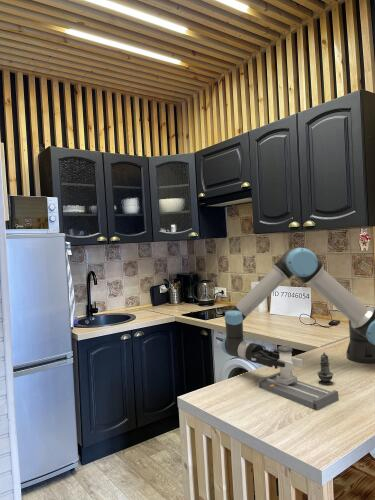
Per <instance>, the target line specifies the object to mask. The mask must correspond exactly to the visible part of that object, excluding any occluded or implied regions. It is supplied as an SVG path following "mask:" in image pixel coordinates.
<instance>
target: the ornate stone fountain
mask: <svg viewBox="0 0 375 500" xmlns="http://www.w3.org/2000/svg"><path fill="white" fill-rule="evenodd" d="M319 365H320V371H317V376H318V378H319V381H318V384H319V385H322V386H327V387H328V386H333V384H334V382H333V381H332V379H333V376H334V373H333V372H331V371H330V361H329V356H328V354H327V353H326V352H325V351H324V352H323V353H322V354H321V355H320V362H319Z"/></svg>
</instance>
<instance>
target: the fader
mask: <svg viewBox="0 0 375 500" xmlns="http://www.w3.org/2000/svg"><path fill="white" fill-rule="evenodd" d="M277 350H278V351H279V357H280V359H282V360H285V361H289V362H292V357H293V356H292V355H293V354H292V352H293V346H290V345H280V346H278V347H277ZM279 372H280V376H278V377H276V382H279V383H282V384H285V385H289V384H291V383H294V382H296V381H297V380H298V376H297V375H293V371H291V370H288V369H285V368H282V367H279Z"/></svg>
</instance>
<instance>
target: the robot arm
mask: <svg viewBox="0 0 375 500" xmlns="http://www.w3.org/2000/svg"><path fill="white" fill-rule="evenodd" d="M272 265H273V267H272V269H271V270H270V271H269V272H268V273H267V274H266V275H265V276H264V277H263V278H262V279H261V280H259V282H257V284H256V285H255V286H253V287H252V288H251V290H249V291H248V293H246V294H245V295H244V296H243V297H242V298H241V299H240V300H239V301H238V302H237V303H236V304H235V305H234V306H233V307H231V309H228V310H227V311H226V312H225V314H224V321H225V323H224V324H225V334H226V336H225V338H223V340H222V342H221V349H222V352H224V354H227V355H229V356H232V357H234V358H235V357H236V358H239V359H241V360H245V361H246V362H251V363H254V364H260V365H263V366H266V367H269V368H274V369H278V368H280V367H282V368H285V369H288V370H291V371H292V372H293V371H294V368H295V367H299V368H303V366H304V365H303V362H304V361H303V359H302V358H297V357H295V356H292V362H289V361H285V360H282V359H280V357H279V351H278V349H276V348H272V349H271V350H269V349H266V348H264V347H263V345H261V344H260V343H255V342H252V341H246V340H244V324H243V323H244V322H243V321H244V320H245V319H246V318H247V317H249V315H250V314H251V313H252V312H253V311H254V310H256V309H257V307H259V306H260V304H262V303H263V302H264V301H265V300H266V299H268V297H269V296H270V295H271V294H272V293H273V292H274V291H275V290H277V289H278V287H280V285H281V284H283V283H284V282H285V281H287V280H290V279H292V278H293V276H295V277H296V278H297V279H298V280H299V281H300V282H301V283H303V284H304V285H307V284H309V285H310V286H311V287H312V288H313V289H314V290H316V291H317V292H318V293H319V294H320V295H321V296H322V297H323V298H325V300H326V301H328V302H329V303H330V304H331V305H332V306H333V307H334V308H336V309H337V310H338V311H339V312H340V313H341V314H342V315H344V316H345V317H346V319H348V330H349V331H348V332H349V342H348V346H347V349H346V352H345V354H346V359H348V360H350V361H353V362H356V363H363V364H375V308H373V307H372V306H366V305H365V304H363V303H362V302H361V301H360V300H359V299H358V298H357V297H356V296H354V295H353V294H352V293H351V292H350V291H349V290H348V289H346V288H345V286H343V285H342V284H341V283H340V282H338V280H336V279H335V278H334V277H333V276H332V275H331V274H330V273H328V271H326V270H325V269H324V263H323V262H322V261H321V260H319V259H318V258H317V256H316V254H315V253H314V252H313V251H311V249H309V248H305V247H293V248H289V249H288V250H286V251H285V252H284V253H283V254H282V256H281V257H280V258H279V259H277V261H276V262H275V263H274V264H272ZM294 366H295V367H294Z"/></svg>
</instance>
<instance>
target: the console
mask: <svg viewBox="0 0 375 500" xmlns="http://www.w3.org/2000/svg"><path fill="white" fill-rule="evenodd" d="M278 376H280V371H279V372H277V373H273V374H270V375H267V376H264V377H261V378H259V379H258V388H259V389H262V390H265V391H268V392H271V393H272V394H274V395H278V396H280V397H282V398H285V399H288V400H290V401H292V402H295V403H298V404H300V405H303V406H304V407H307V408H310V409H313V410H314V411H318V410H321V409H323V408H325V407H326V406H329V405H331V404H333V403H335V402H337V401H340V399H339V390H332V391H330V390H327V389H324V388H321V387H319V386H316V385H312V384H309V383H306V382H303V381H300V380H298V379H297V381H296V382H294V383H291V384H289V385H285V384H282V383H279V382H276V377H278Z"/></svg>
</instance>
